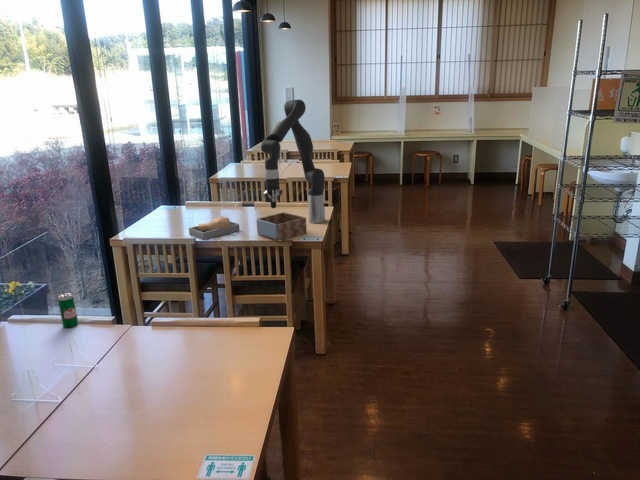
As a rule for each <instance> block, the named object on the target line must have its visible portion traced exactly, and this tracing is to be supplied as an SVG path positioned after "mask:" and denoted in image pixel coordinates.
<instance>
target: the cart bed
mask: <svg viewBox="0 0 640 480" xmlns="http://www.w3.org/2000/svg"><path fill="white" fill-rule="evenodd" d="M257 219H259V220H263V221H267V222H270V223H274V224H277V233H278V239H275V238H272V237H268V236H265V235H262V234H259V236H261V237H264V236H265V237H264V238H267V237H268V239H270V240H274V239H275V240H274V241H277V240H283V241H286V240H285V239H287V240H289V239H293V238H298V237H299V236H303V235H306V234H308V233H307V231H308V230H307V217H305V216H301V215H297V214H292V213H290V212H289V213H288V212H284V211H283V212H278V213H275V214H271V215H265V216H262V217H258V218H257Z"/></svg>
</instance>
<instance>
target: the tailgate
mask: <svg viewBox="0 0 640 480" xmlns="http://www.w3.org/2000/svg"><path fill="white" fill-rule="evenodd" d="M256 230H257V231H256V232H257V235H258V234H262V235H265V236H268V237H272V238H275V239H278V233H277V224H274V223H270V222H267V221H263V220H259V219H258V218H256Z"/></svg>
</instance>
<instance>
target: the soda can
mask: <svg viewBox="0 0 640 480" xmlns="http://www.w3.org/2000/svg"><path fill="white" fill-rule="evenodd" d="M57 302H58V307H59V313H60V317H61V318H60V319H61V321H62V323H61V324H62V327H64V328H65V329H71V328H74V327H77V325H78V324H79V321H78V320H79V319H78V314H77V307H76V304H75V303H76V302H75V298H74V295H73V294H72V293H70V292H63V293H61V294H59V295H58V298H57Z"/></svg>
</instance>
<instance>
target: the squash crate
mask: <svg viewBox="0 0 640 480" xmlns="http://www.w3.org/2000/svg"><path fill="white" fill-rule="evenodd" d="M229 221H230V220H229ZM230 223H231V226H229V227H228V230H226V229H223V228H219V229H215V230H211V231H202V232H201V231H198V229H197V228H198V225H196V226H192V227H189V228H188V233H189V235H190V236H192V237H194V236H195V237H194V238H196V239H197V238H198V239H200V240H202V241H204V240H208V239H212V238H216V237H220V236H223V235H224V236H225V235H228V234H231V233H236V232H240V230H241V229H240V223H238V222H237V223H236V222H233V221H230Z"/></svg>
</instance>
